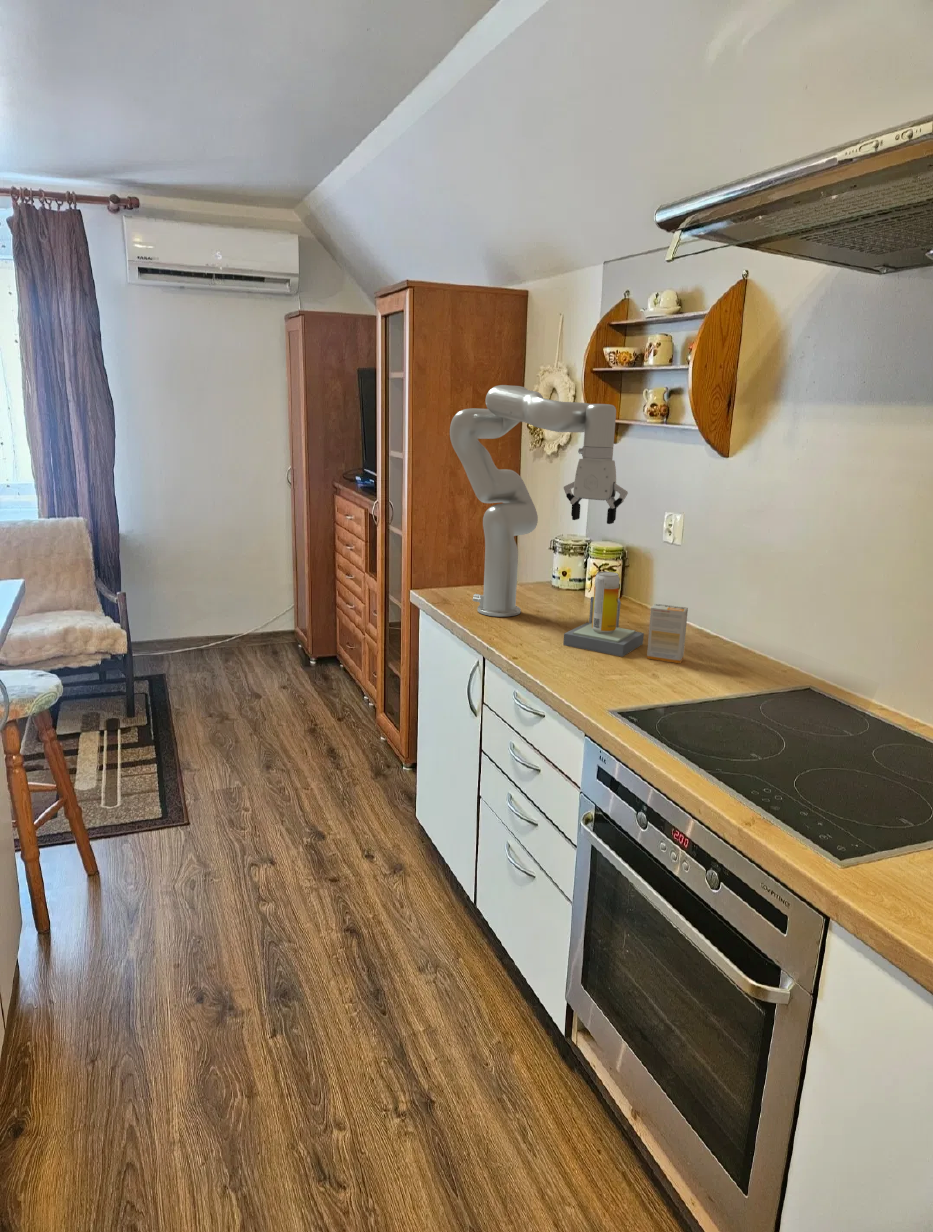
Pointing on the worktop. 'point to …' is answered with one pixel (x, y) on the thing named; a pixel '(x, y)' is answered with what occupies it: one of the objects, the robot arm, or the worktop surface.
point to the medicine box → (592, 611)
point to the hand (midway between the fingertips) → (592, 521)
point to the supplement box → (667, 633)
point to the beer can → (605, 602)
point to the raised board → (604, 640)
